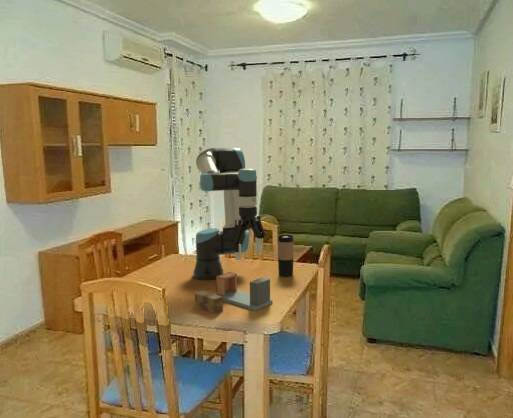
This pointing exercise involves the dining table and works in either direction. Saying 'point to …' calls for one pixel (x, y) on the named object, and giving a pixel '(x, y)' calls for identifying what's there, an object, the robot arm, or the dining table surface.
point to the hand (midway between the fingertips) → (248, 256)
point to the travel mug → (285, 255)
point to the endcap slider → (226, 283)
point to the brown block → (209, 302)
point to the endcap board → (251, 295)
